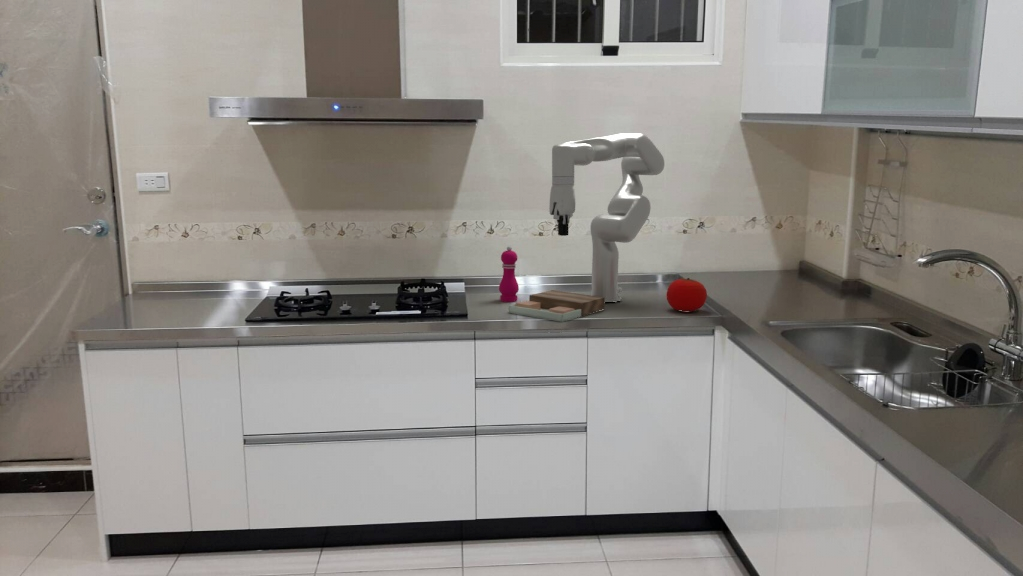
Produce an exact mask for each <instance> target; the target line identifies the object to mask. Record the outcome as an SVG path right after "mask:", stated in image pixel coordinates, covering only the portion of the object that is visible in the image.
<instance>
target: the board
mask: <svg viewBox="0 0 1023 576" xmlns="http://www.w3.org/2000/svg"><path fill="white" fill-rule="evenodd" d="M528 296H529V300H528V301H533V302H539V303H541V305H540V308H542V309H548V310H549V309H551V308H555V307H559V306H561V307H567V308H573V309H574V310H578V309H581V317H585V316H588V315H587V314H589V315H591V314H590V313H593V312H596V311H599V310H602V309H604V310H605V303H604V302H605V297H598V296H591V294H584V293H575V292H569V291H562V290H555V289H552V290H546V291H541V292H538V293H533V294H529V295H528ZM596 313H597V312H596ZM593 314H594V313H593ZM584 315H585V316H584Z"/></svg>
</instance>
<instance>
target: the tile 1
mask: <svg viewBox="0 0 1023 576" xmlns="http://www.w3.org/2000/svg"><path fill="white" fill-rule="evenodd" d="M515 304H516V306H517V307H524V308H530V309H536V310H540V305H541V303H539V302H533V301H529V300H524V301H520V302H519V301H518V302H515Z"/></svg>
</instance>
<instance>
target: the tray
mask: <svg viewBox="0 0 1023 576" xmlns="http://www.w3.org/2000/svg"><path fill="white" fill-rule="evenodd" d="M508 313H509V314H514V315H520V316H524V317H525V316H526V317H531V318H532V317H533V318H538V319H543V320H550V321H555V322H561V323H563V322H568V321H571V320H574V318H575V319H578V318H581V317H582V316H581V309H578V310H574V311H571V312H567V313H563V314H560V313H554V312H549V310H548V309H542V308H540V310H536V309H530V308H524V307H517V306H516V303H515V304H509V305H508ZM580 316H581V317H580ZM577 317H578V318H577Z"/></svg>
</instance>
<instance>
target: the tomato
mask: <svg viewBox="0 0 1023 576" xmlns="http://www.w3.org/2000/svg"><path fill="white" fill-rule="evenodd" d="M666 290H667V291H666V296H665V297H666V301H667V303H668V304H669V307H671V308H672V309H674V310H675V309H676V310H675V311H677V310H682V311H693V312H695V311H694V310H696V311H698V310H699V309H701V308H702V307H703V306H704V305H705V303H706V301H707V297H708V292H707V290H706V287H705V286H704V284H703V283H702V282H700V280H696V279H691V278H690V277H687V278H679V279H676V280H673V281H672V282H671V283H670V284H669V285H668V287H667V289H666Z"/></svg>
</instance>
